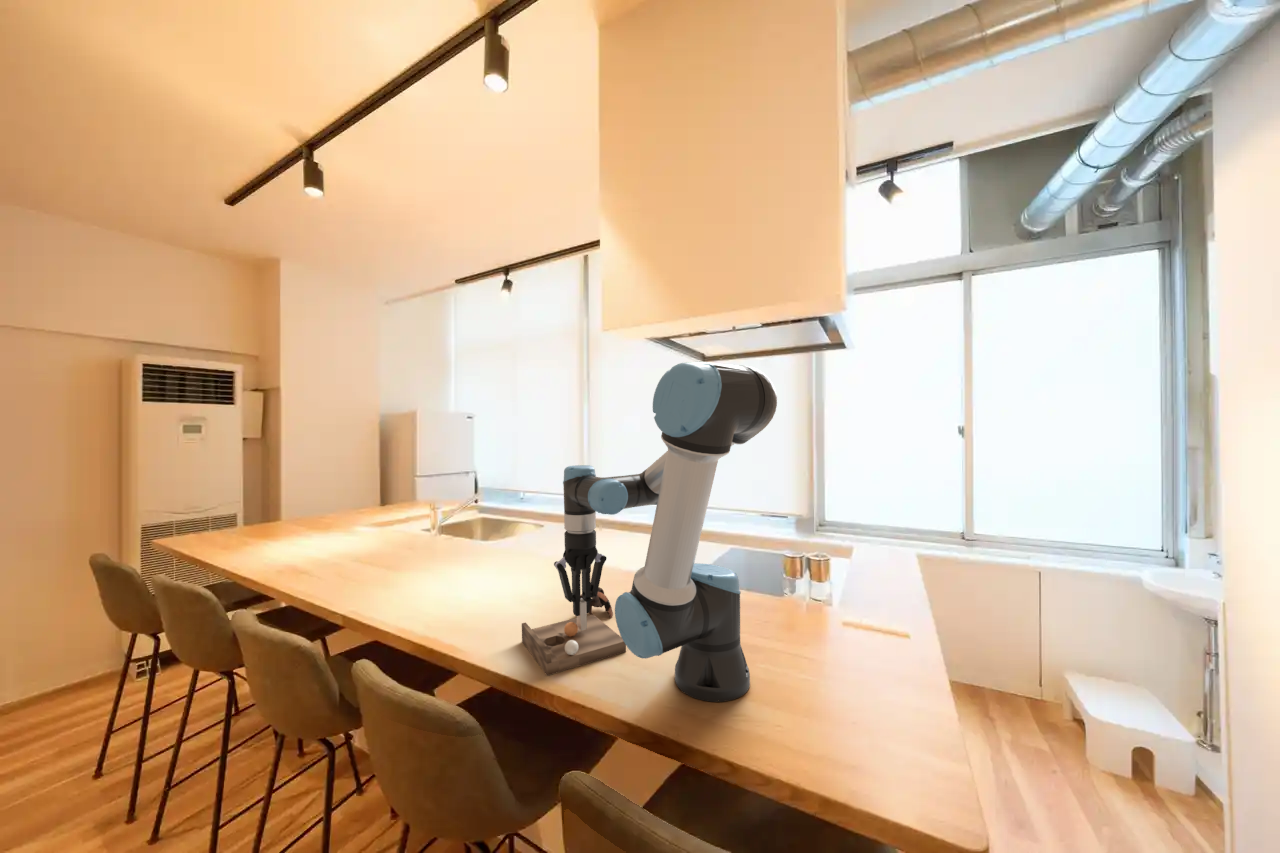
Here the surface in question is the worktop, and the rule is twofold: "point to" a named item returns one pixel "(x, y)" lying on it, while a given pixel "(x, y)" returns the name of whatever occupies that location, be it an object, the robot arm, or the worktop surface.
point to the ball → (570, 629)
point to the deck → (552, 639)
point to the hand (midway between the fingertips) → (581, 627)
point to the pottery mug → (600, 602)
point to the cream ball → (571, 647)
